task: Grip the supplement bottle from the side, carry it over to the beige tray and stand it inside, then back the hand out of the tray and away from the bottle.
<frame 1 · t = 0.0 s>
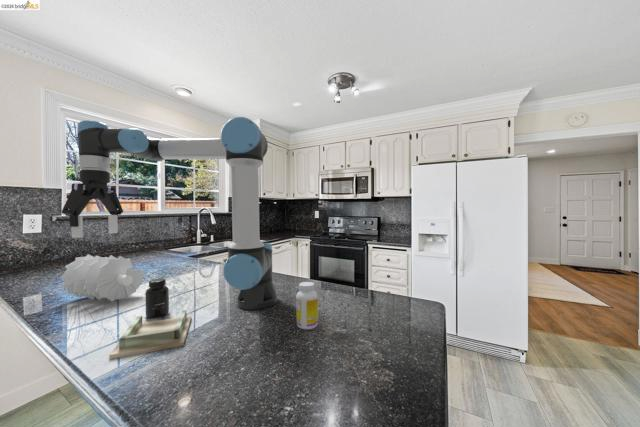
hand: (96, 235, 84), 28 cm above the countertop, tool pointing down, fingers open, 13 cm apart
supplement bottle 2: (307, 325, 79), on the countertop
beige tray: (156, 335, 73), on the countertop
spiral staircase: (104, 298, 106), on the countertop
supplement bottle: (157, 315, 88), on the countertop
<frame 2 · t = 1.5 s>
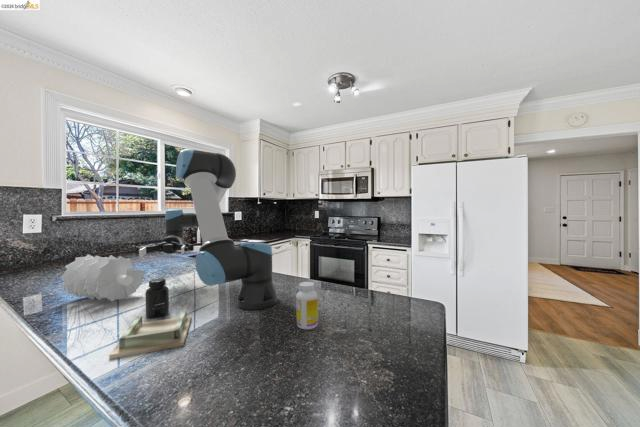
hand: (161, 252, 96), 20 cm above the countertop, tool horizontal, fingers open, 13 cm apart
nothing on the countertop moved.
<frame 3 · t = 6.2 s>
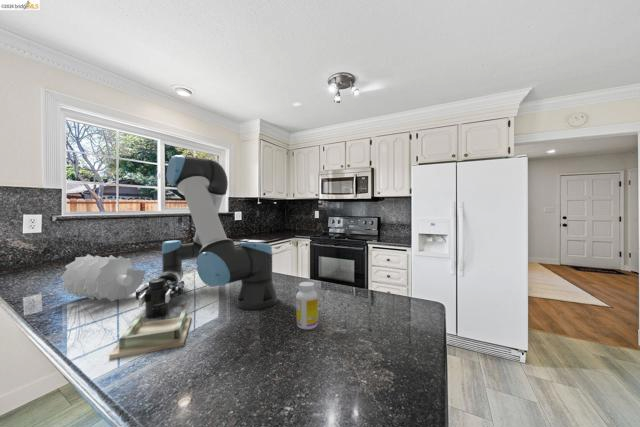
hand: (153, 300, 83), 7 cm above the countertop, tool horizontal, fingers closed on supplement bottle, 7 cm apart
supplement bottle: (157, 315, 88), on the countertop, touching gripper
everything else where it was.
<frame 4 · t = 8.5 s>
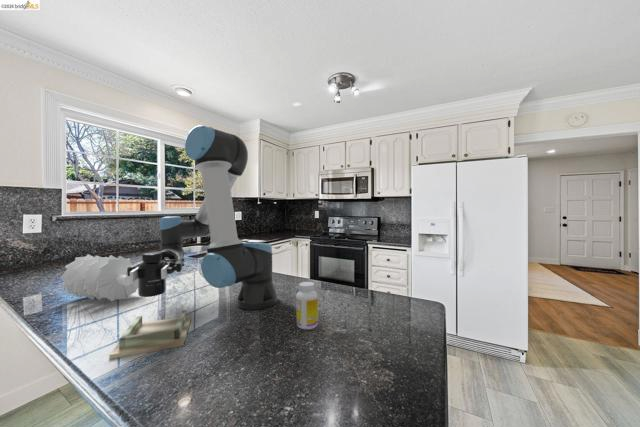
hand: (147, 275, 71), 18 cm above the countertop, tool horizontal, fingers closed on supplement bottle, 7 cm apart
supplement bottle: (152, 294, 76), point 11 cm above the countertop, touching gripper
everything else where it was.
when the fingers open (9 cm above the countertop, at t = 11.0 s): supplement bottle moves 1 cm, resting on beige tray.
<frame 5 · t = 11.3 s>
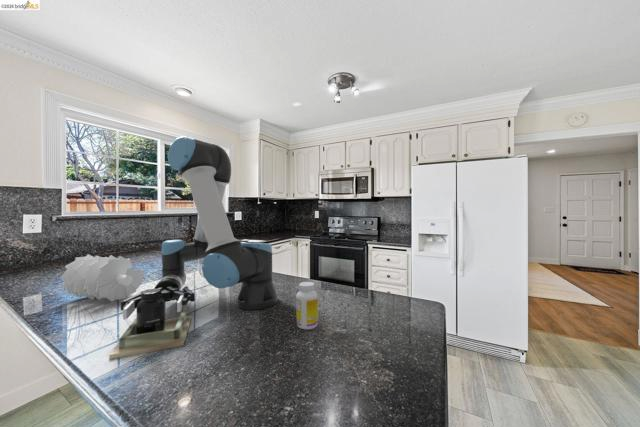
hand: (152, 310, 70), 9 cm above the countertop, tool horizontal, fingers open, 12 cm apart
supplement bottle: (151, 333, 73), point 1 cm above the countertop, touching beige tray
everything else where it was.
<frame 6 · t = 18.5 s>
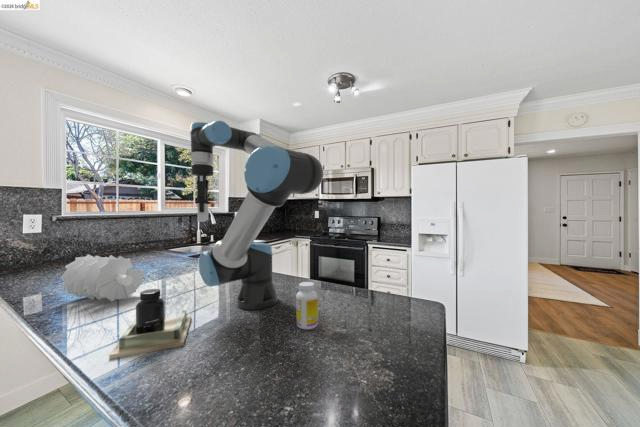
hand: (203, 220, 98), 32 cm above the countertop, tool pointing down, fingers open, 13 cm apart
nothing on the countertop moved.
at the end: supplement bottle inside the target area on the beige tray (1.4 cm from its centre), point 0.8 cm above the beige tray's base; supplement bottle tilted 0°; the gripper is holding nothing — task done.
